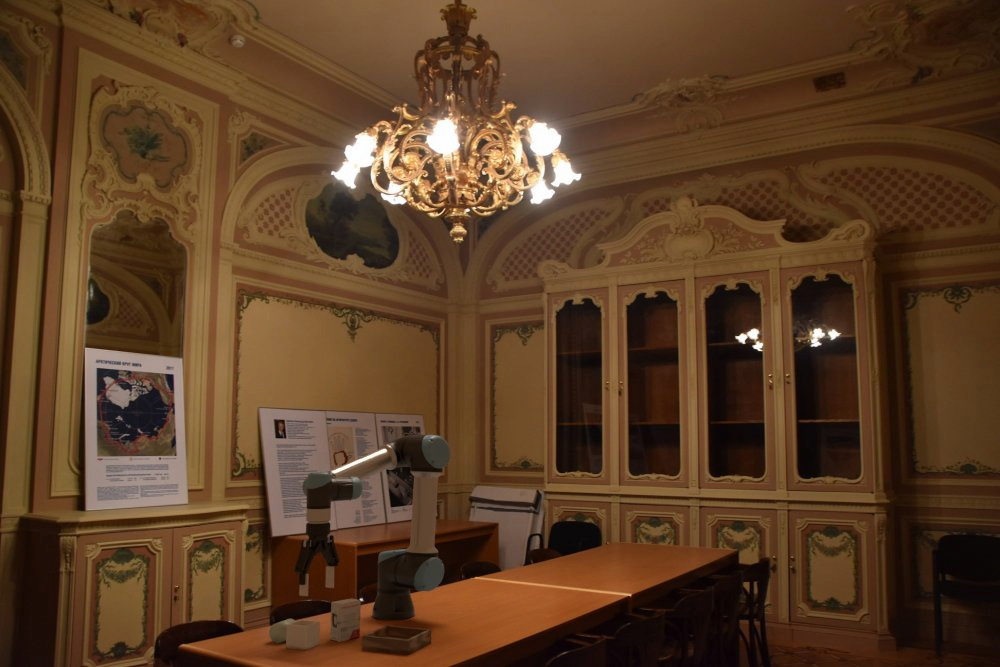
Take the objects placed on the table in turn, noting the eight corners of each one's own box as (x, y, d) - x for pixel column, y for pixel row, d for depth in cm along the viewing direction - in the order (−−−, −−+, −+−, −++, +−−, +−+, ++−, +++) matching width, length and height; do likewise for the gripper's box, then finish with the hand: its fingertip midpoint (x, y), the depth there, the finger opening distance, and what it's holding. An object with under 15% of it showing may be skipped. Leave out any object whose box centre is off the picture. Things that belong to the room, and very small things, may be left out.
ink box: (351, 634, 270) (352, 597, 271) (361, 637, 266) (361, 599, 268) (329, 639, 263) (330, 601, 265) (338, 642, 260) (339, 603, 261)
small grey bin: (300, 642, 260) (300, 619, 261) (319, 644, 257) (319, 621, 258) (286, 648, 254) (286, 624, 254) (305, 650, 251) (306, 626, 252)
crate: (386, 638, 265) (386, 625, 266) (431, 642, 260) (431, 629, 260) (361, 649, 252) (362, 635, 252) (408, 654, 246) (408, 640, 246)
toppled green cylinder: (285, 640, 267) (280, 621, 268) (300, 634, 265) (295, 616, 266) (272, 645, 260) (267, 626, 262) (287, 640, 258) (282, 621, 260)
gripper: (331, 517, 273) (330, 583, 270) (283, 526, 250) (281, 598, 248) (350, 518, 270) (349, 585, 268) (304, 527, 247) (302, 600, 245)
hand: (317, 591), depth 258 cm, fingers open, 13 cm apart
